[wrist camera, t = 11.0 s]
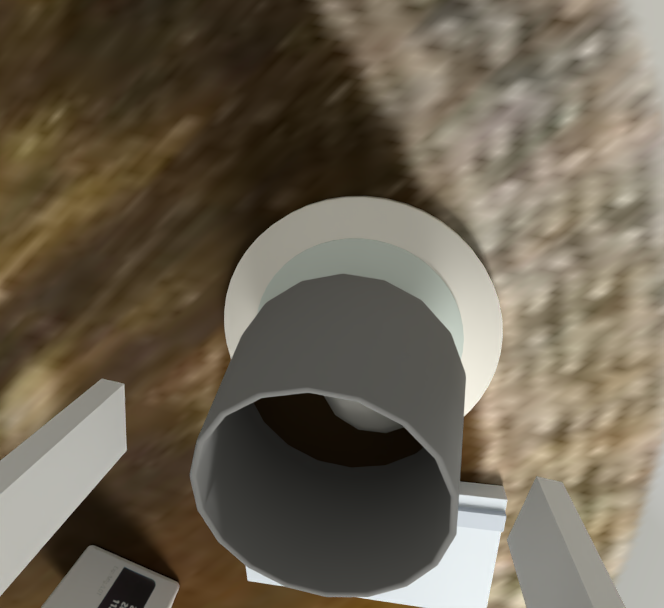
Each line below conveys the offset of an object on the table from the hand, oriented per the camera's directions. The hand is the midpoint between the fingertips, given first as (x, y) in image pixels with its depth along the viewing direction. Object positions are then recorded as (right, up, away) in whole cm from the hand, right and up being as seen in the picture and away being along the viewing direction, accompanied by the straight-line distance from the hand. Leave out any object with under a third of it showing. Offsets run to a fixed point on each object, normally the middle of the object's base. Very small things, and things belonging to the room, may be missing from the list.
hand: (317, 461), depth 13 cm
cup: (+2, +3, +8) cm, 8 cm away
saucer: (+2, +4, +8) cm, 9 cm away
